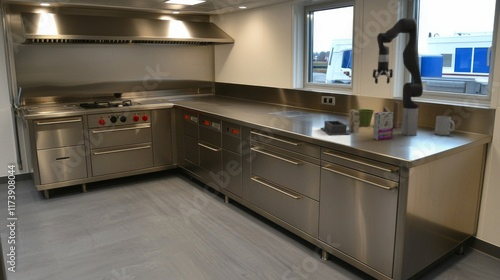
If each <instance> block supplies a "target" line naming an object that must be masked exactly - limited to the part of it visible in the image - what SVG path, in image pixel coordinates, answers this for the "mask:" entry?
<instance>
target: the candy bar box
mask: <svg viewBox="0 0 500 280" xmlns="http://www.w3.org/2000/svg"><path fill="white" fill-rule="evenodd" d="M393 113H394V112H392V111H390V112H383V111H380V112H373V114H374V116H373V117H374V118H373V137H372V139H373V140H375V139H376V140H375V141H384V139H385V140H391V139H393V131H394V130H393V129H394V127H393Z"/></svg>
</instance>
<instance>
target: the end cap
mask: <svg viewBox="0 0 500 280" xmlns="http://www.w3.org/2000/svg"><path fill="white" fill-rule="evenodd" d="M320 130H321V131H323V132H324V133H325V134H327V135H328V136H351V134H352V132H349V131H347V130H348V129H347V124H345V123H344V122H342V121H340V120H325V121H324V126H323V127H320Z"/></svg>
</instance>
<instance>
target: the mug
mask: <svg viewBox="0 0 500 280" xmlns="http://www.w3.org/2000/svg"><path fill="white" fill-rule="evenodd" d="M451 125H452V126H451ZM455 126H456V125H455V122H454V121H453V120H452V117H451V116H447V115H438V116H437V115H436V119H435V128H434V129H435V130H434V134H435V135H438V136H448V135H450V134H451V132H453V131H454V130H455Z"/></svg>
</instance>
